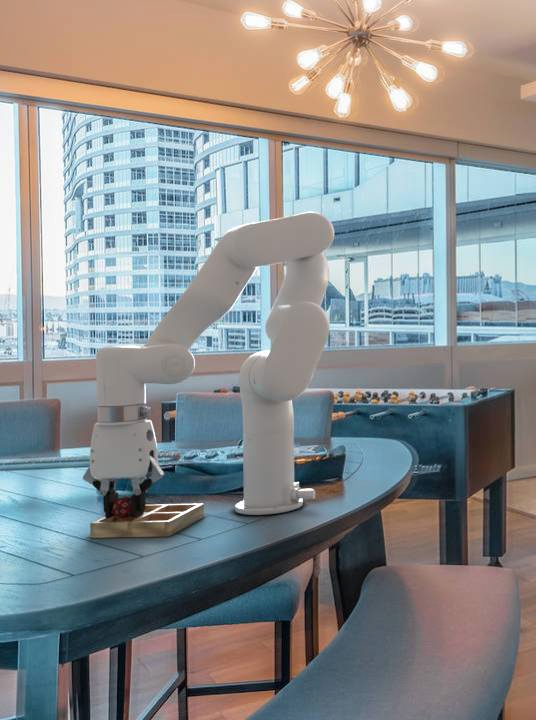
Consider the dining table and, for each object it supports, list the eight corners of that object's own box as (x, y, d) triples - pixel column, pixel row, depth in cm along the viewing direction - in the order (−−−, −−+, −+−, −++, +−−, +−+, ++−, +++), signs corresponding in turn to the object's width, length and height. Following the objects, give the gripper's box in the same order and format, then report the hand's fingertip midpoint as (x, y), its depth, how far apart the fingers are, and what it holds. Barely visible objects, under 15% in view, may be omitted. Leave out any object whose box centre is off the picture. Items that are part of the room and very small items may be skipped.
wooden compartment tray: (204, 516, 155) (203, 503, 155) (169, 536, 141) (169, 521, 141) (131, 518, 154) (131, 504, 154) (90, 537, 141) (89, 523, 141)
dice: (128, 514, 147) (127, 493, 147) (142, 517, 145) (141, 495, 145) (107, 519, 144) (106, 497, 144) (121, 522, 142) (120, 500, 142)
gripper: (179, 410, 149) (182, 509, 149) (87, 412, 148) (89, 511, 148) (159, 416, 141) (161, 520, 141) (61, 418, 140) (64, 522, 141)
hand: (124, 514), depth 145 cm, fingers closed on dice, 3 cm apart
